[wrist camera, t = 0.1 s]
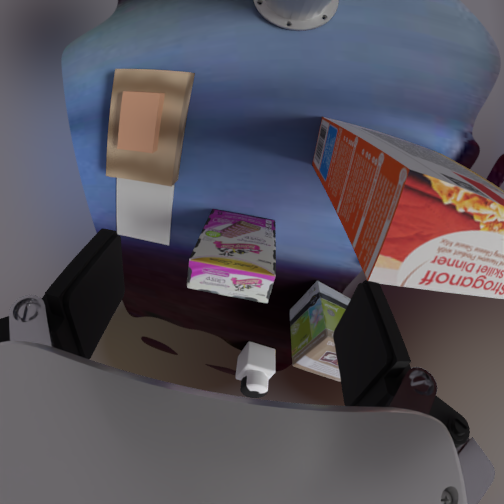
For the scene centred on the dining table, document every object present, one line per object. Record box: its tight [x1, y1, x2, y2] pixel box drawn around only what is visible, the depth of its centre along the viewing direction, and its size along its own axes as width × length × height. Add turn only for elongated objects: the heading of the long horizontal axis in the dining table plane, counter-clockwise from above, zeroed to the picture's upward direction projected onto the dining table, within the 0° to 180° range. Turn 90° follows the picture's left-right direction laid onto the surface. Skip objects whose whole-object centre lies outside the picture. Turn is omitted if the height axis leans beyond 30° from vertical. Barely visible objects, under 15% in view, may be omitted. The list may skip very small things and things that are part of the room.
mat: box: [117, 178, 174, 245], centre depth 50 cm, size 12×11×1 cm
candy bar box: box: [187, 209, 276, 303], centre depth 43 cm, size 11×5×16 cm, turn 80°
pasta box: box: [312, 117, 504, 299], centre depth 30 cm, size 23×8×30 cm, turn 82°
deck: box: [106, 69, 195, 187], centre depth 40 cm, size 18×12×4 cm, turn 168°
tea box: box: [290, 281, 351, 382], centre depth 53 cm, size 15×10×15 cm
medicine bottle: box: [236, 341, 276, 398], centre depth 63 cm, size 7×7×12 cm
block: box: [117, 91, 165, 153], centre depth 37 cm, size 9×6×2 cm, turn 168°
